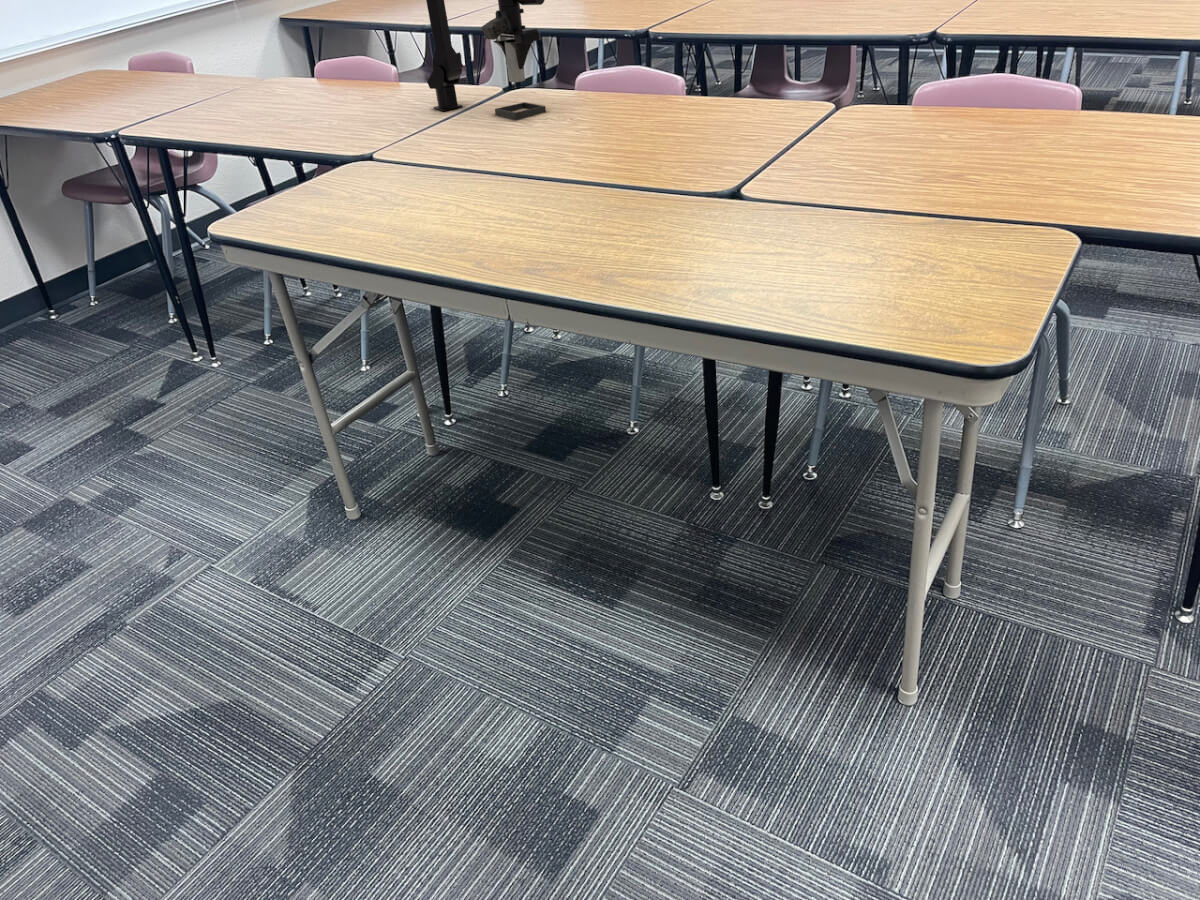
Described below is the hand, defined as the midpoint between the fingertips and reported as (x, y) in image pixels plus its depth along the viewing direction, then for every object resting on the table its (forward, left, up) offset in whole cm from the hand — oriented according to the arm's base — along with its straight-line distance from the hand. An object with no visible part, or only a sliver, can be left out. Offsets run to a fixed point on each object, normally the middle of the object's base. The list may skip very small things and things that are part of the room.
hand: (516, 68), depth 236 cm
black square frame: (+1, -1, -12) cm, 12 cm away
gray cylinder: (0, 0, -3) cm, 3 cm away
